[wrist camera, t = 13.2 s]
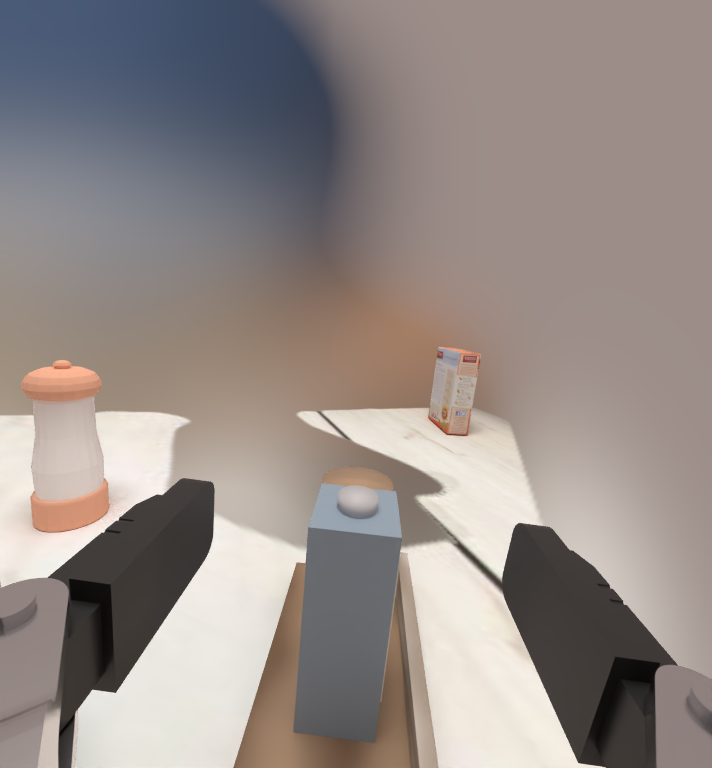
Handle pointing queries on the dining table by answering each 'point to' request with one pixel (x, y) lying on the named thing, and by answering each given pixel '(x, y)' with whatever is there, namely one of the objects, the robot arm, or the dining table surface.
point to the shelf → (396, 712)
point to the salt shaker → (66, 448)
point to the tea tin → (347, 611)
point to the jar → (358, 478)
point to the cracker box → (454, 389)
